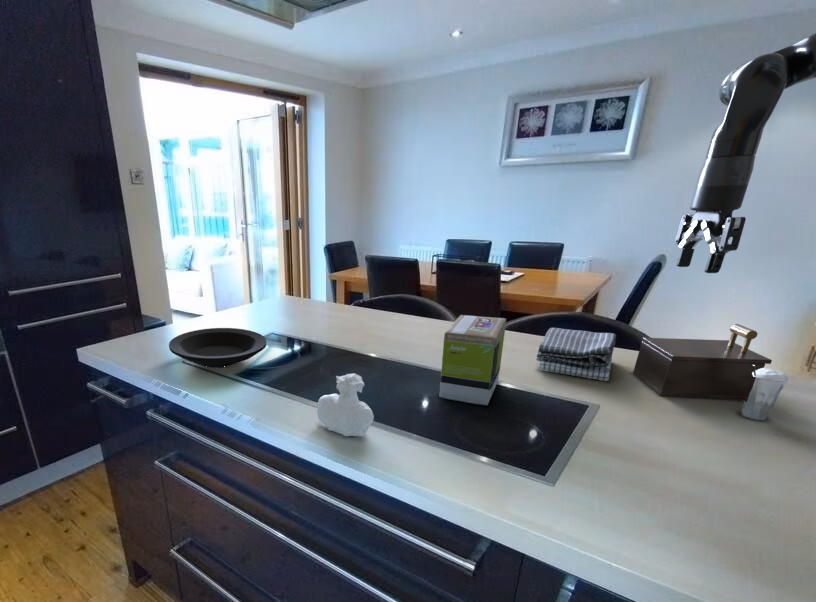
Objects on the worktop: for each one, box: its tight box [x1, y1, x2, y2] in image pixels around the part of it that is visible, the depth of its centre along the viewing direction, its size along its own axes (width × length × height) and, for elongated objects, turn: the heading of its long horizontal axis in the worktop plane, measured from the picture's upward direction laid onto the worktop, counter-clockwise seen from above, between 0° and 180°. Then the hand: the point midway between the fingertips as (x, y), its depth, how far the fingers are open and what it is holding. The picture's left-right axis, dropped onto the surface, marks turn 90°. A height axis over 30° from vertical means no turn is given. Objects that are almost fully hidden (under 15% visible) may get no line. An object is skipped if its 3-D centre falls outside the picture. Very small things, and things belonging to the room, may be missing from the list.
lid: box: [641, 323, 773, 365], centre depth 90 cm, size 16×13×5 cm
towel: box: [535, 327, 617, 382], centre depth 106 cm, size 15×18×8 cm
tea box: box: [438, 314, 507, 406], centre depth 93 cm, size 15×10×15 cm
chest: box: [632, 340, 766, 401], centre depth 93 cm, size 16×13×8 cm
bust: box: [316, 372, 375, 437], centre depth 80 cm, size 12×8×11 cm
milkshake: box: [740, 365, 789, 421], centre depth 79 cm, size 4×5×10 cm
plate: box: [168, 327, 267, 369], centre depth 116 cm, size 28×24×6 cm
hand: (696, 269), depth 91 cm, fingers open, 8 cm apart
